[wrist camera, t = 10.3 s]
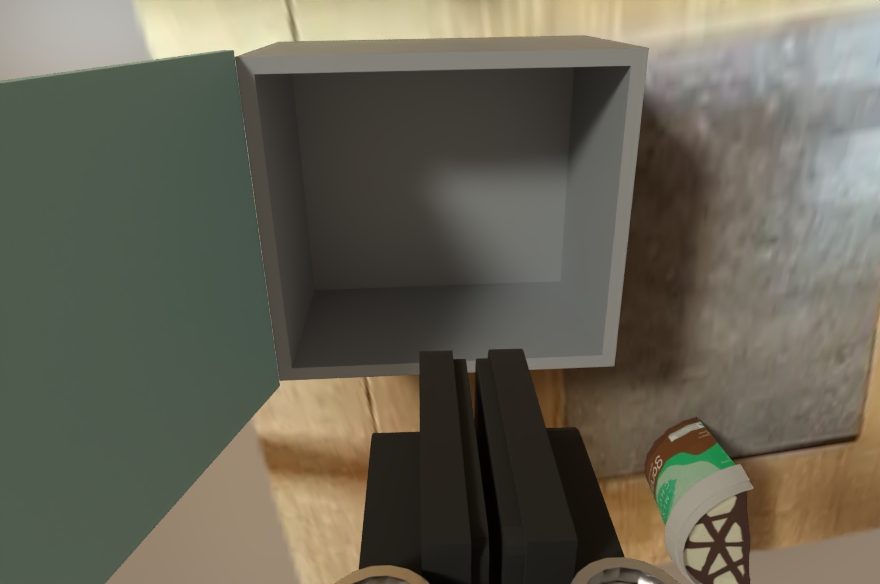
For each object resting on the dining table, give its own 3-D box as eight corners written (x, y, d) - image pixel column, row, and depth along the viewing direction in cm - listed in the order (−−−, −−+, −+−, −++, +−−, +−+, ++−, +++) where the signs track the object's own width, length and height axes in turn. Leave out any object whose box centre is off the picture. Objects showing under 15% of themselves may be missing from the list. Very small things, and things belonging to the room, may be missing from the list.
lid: (-359, 133, 12) (-380, 133, 12) (-42, 749, 20) (-57, 744, 20) (233, 50, 31) (222, 50, 31) (279, 385, 38) (270, 384, 39)
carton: (585, 35, 43) (648, 48, 32) (567, 286, 50) (614, 366, 39) (278, 42, 42) (234, 57, 31) (306, 296, 49) (279, 380, 38)
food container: (624, 418, 56) (668, 500, 46) (695, 402, 55) (753, 482, 46) (638, 524, 61) (680, 617, 52) (703, 511, 60) (757, 601, 51)
